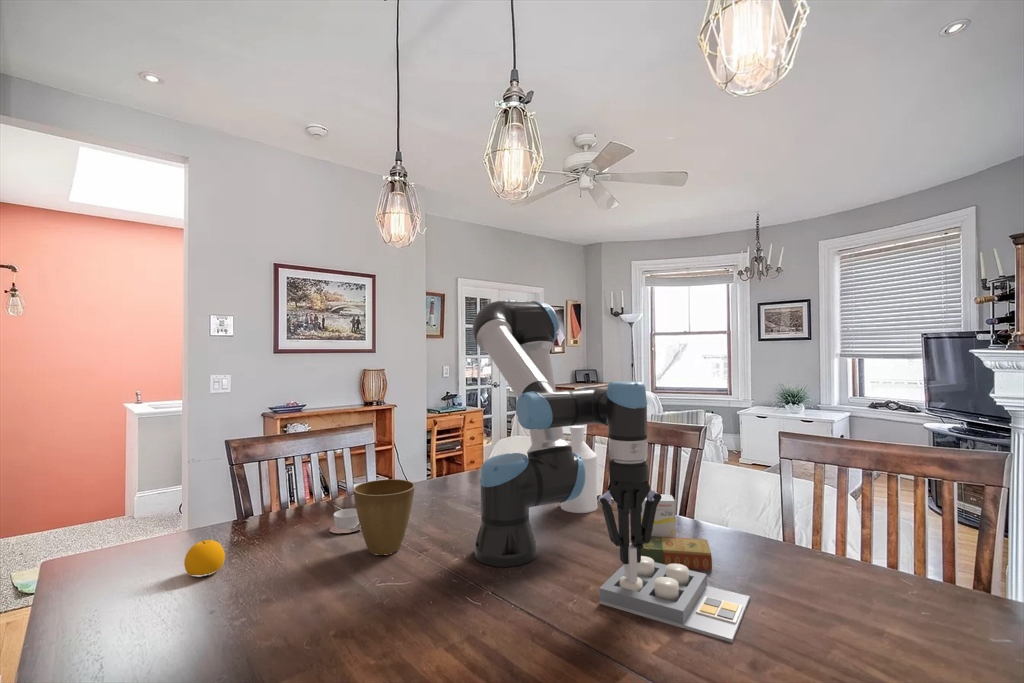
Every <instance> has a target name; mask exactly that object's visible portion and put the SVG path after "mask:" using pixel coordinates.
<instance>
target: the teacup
mask: <svg viewBox="0 0 1024 683" xmlns="http://www.w3.org/2000/svg"><path fill="white" fill-rule="evenodd" d="M333 521H334V525H336V526H337V528H339V529H351V528H355V527H356V526H357V525H358V524H359V519H358V515H357V510H356V508H345V509H341V510H337V511H335V512H334V513H333Z"/></svg>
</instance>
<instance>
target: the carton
mask: <svg viewBox="0 0 1024 683" xmlns="http://www.w3.org/2000/svg"><path fill="white" fill-rule="evenodd" d="M642 545H643V548H642V549H641V556H646V557H649V558H652V559H653V560H654V562H656V563H661V564H665V565H668V564H681V565H684V566H686V567H687V568H688V569H690V570H691V569H694V570H705V571H713V557H712V556H713V555H712V551H711V549H710V545H709V541H708V540H707V539H703V538H702V539H701V538H688V537H687V538H685V537H676V538H673V537H658V536H651V539H650V542H649V543H644V544H642Z"/></svg>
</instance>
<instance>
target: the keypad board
mask: <svg viewBox="0 0 1024 683" xmlns="http://www.w3.org/2000/svg"><path fill="white" fill-rule="evenodd" d="M622 576H625V568H624V564H623V565H621V566H620V567H619V568H618V569H617V570H616V571H615V573H613V574H612V575H611V576H610V577H609V578H608V579H607V580H606V581H605V582H604V583H603V584H602V585H601V586H599V604H600V605H603V606H607V607H610V608H613V609H617V610H620V611H623V612H628V613H631V614H635V615H637V616H640V617H644V618H647V619H651V620H654V621H657V622H661V623H664V624H668V625H670V626H674V627H677V628H681V629H684V630H688V631H691V632H695V633H697V634H702V635H704V636H708V637H712V638H714V639H718V640H722V641H726V642H729V643H734V639H735V637H736V635H737V632H738V630H739V628H740V624H741V622H742V620H743V618H744V615H745V612H746V610H747V608H748V605H749V602H750V600H751V597H750V595H747V594H742V593H739V592H733V591H729V590H726V589H721V588H717V587H713V586H709V585H708V575H707V573H703V572H698V571H696V570H691V569H689V584H688V585H687V586H682V585H678V586H679V599H678V600H677V601H674V602H673V601H669V600H665V599H662V598H658V597H655V594H654V580H655V579H656V578H658V577H666V565H665V564H661V563H656V562H654V576H653V577H650V578H649V577H645V576H641V575H637V577H639V578H640V579H642V581H643V588H642V590H641V591H640V592H636V591H632V590H628V589H625V588H621V587H620V578H621V577H622Z"/></svg>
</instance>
